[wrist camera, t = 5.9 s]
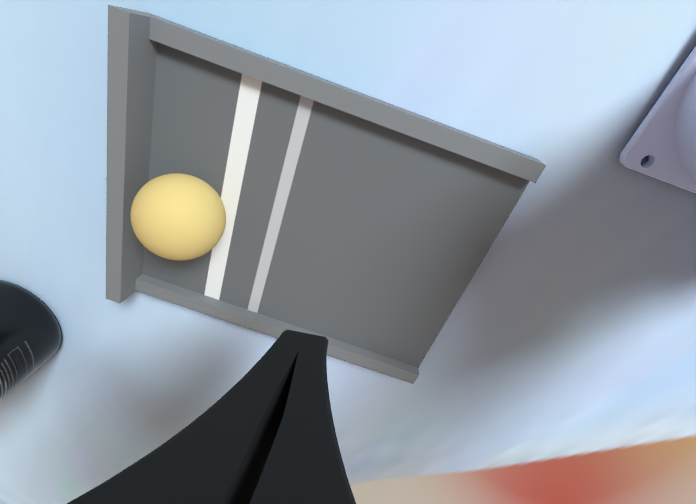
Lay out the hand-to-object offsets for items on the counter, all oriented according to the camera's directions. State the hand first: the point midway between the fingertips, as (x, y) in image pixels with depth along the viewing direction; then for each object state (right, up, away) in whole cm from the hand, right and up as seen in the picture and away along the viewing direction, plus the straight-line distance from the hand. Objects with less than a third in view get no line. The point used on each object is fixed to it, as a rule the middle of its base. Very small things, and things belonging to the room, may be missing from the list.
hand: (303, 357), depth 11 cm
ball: (-8, +4, +4) cm, 10 cm away
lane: (-1, +5, +8) cm, 9 cm away
